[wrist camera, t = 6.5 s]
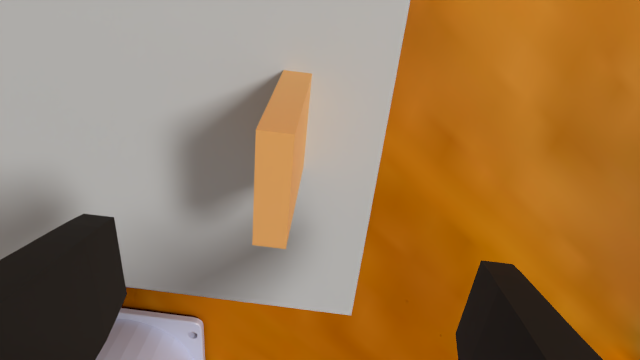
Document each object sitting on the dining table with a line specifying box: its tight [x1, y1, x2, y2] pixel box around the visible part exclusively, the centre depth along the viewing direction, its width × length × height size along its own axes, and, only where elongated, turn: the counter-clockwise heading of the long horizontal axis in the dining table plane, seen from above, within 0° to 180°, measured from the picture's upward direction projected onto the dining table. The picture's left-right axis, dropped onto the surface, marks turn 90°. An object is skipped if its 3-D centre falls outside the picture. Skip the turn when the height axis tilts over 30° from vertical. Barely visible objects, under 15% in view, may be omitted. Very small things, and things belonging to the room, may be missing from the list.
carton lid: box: [0, 0, 410, 315], centre depth 12 cm, size 15×14×4 cm
